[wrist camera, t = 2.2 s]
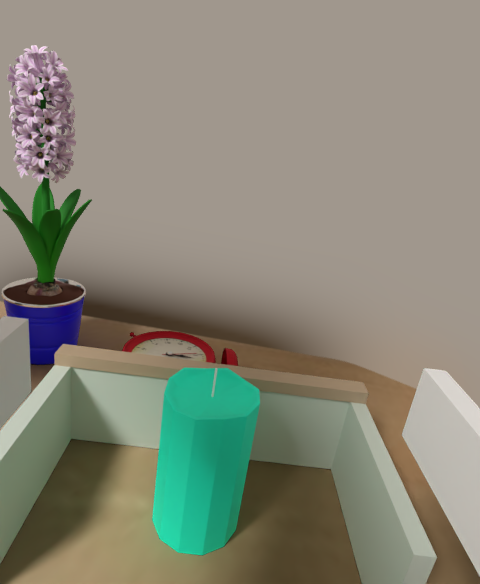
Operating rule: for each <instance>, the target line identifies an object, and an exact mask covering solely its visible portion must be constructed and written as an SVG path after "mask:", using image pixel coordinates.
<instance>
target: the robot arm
mask: <svg viewBox="0 0 480 584" xmlns="http://www.w3.org/2000/svg"><path fill="white" fill-rule="evenodd" d="M30 393H31V370H30V345H29V320H28V319H25V318H17V317H9V316H4V317H2V318H1V319H0V428H1V427H2V426H3V425H4V424H5V422H6V421H7V420H8V419H9V418H10V416H11V415H12V414H13V413H14V412H15V411H16V409H17V408H18V407H19V406H20V405H21V403H22V402H23V401H24V400H25V399H26V397H27V396H28V395H29V394H30ZM402 436H403V438H404V440H405V441H406V443H407V445H408V447H409V449H410V451H411V452H412V454H413V456H414V458H415V460H416V462H417V463H418V465H419V467H420V469H421V471H422V472H423V474H424V476H425V478H426V480H427V482H428V483H429V485H430V487H431V489H432V491H433V492H434V494H435V496H436V498H437V500H438V502H439V503H440V505H441V507H442V509H443V511H444V512H445V514H446V516H447V518H448V520H449V522H450V523H451V525H452V527H453V529H454V531H455V532H456V534H457V536H458V538H459V540H460V542H461V543H462V545H463V547H464V549H465V551H466V553H467V554H468V556H469V558H470V560H471V562H472V563H473V565H474V567H475V569H476V571H477V573H478V574H479V576H480V408H479V407H478V406H477V405H476V404H475V403H474V402H473V401H472V399H471V398H470V397H469V396H468V395H467V394H466V393H465V392H464V391H463V389H462V388H461V387H460V386H459V385H458V384H457V383H456V382H455V380H454V379H453V378H452V377H451V376H450V375H449V374H448V373H447V371H443V370H436V369H428V368H424V369H423V372H422V375H421V378H420V381H419V384H418V387H417V390H416V393H415V396H414V399H413V402H412V405H411V408H410V411H409V414H408V417H407V421H406V424H405V427H404V430H403V433H402Z"/></svg>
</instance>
